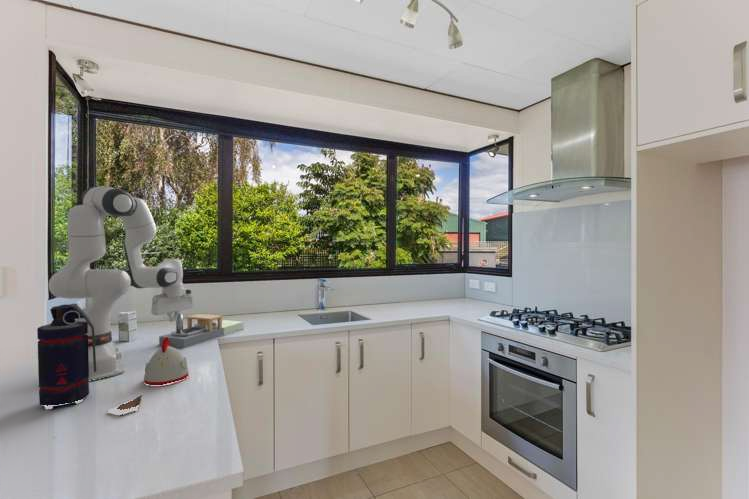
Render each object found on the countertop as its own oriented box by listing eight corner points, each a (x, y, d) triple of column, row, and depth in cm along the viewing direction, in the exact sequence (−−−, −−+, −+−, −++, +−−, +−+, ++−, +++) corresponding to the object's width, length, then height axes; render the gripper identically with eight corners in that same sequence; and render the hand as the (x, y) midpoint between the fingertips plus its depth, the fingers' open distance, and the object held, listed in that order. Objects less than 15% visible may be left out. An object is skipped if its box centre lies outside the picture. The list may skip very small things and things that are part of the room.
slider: (184, 336, 176) (184, 315, 176) (169, 334, 180) (169, 313, 179) (220, 326, 197) (219, 307, 197) (206, 324, 201) (205, 306, 200)
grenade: (36, 414, 106) (33, 310, 105) (42, 400, 115) (39, 305, 115) (96, 402, 114) (94, 305, 113) (97, 389, 123) (95, 300, 123)
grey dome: (138, 388, 124) (137, 344, 124) (151, 374, 138) (150, 334, 137) (183, 384, 128) (182, 341, 128) (192, 370, 141) (191, 332, 141)
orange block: (205, 329, 191) (204, 321, 190) (197, 329, 192) (197, 320, 192) (212, 327, 195) (212, 319, 195) (205, 326, 197) (205, 318, 197)
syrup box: (137, 338, 189) (137, 310, 189) (128, 341, 183) (128, 312, 183) (127, 338, 190) (126, 310, 189) (118, 341, 184) (117, 312, 184)
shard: (141, 399, 117) (141, 393, 117) (159, 403, 114) (159, 397, 114) (106, 414, 106) (105, 408, 106) (124, 419, 104) (123, 412, 104)
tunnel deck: (183, 347, 172) (183, 325, 172) (159, 344, 178) (159, 322, 178) (243, 328, 209) (243, 310, 209) (221, 326, 215) (221, 308, 215)
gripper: (157, 295, 165) (158, 326, 165) (195, 289, 184) (195, 317, 184) (147, 294, 167) (148, 325, 167) (185, 289, 186) (186, 316, 186)
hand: (173, 321), depth 176 cm, fingers closed
